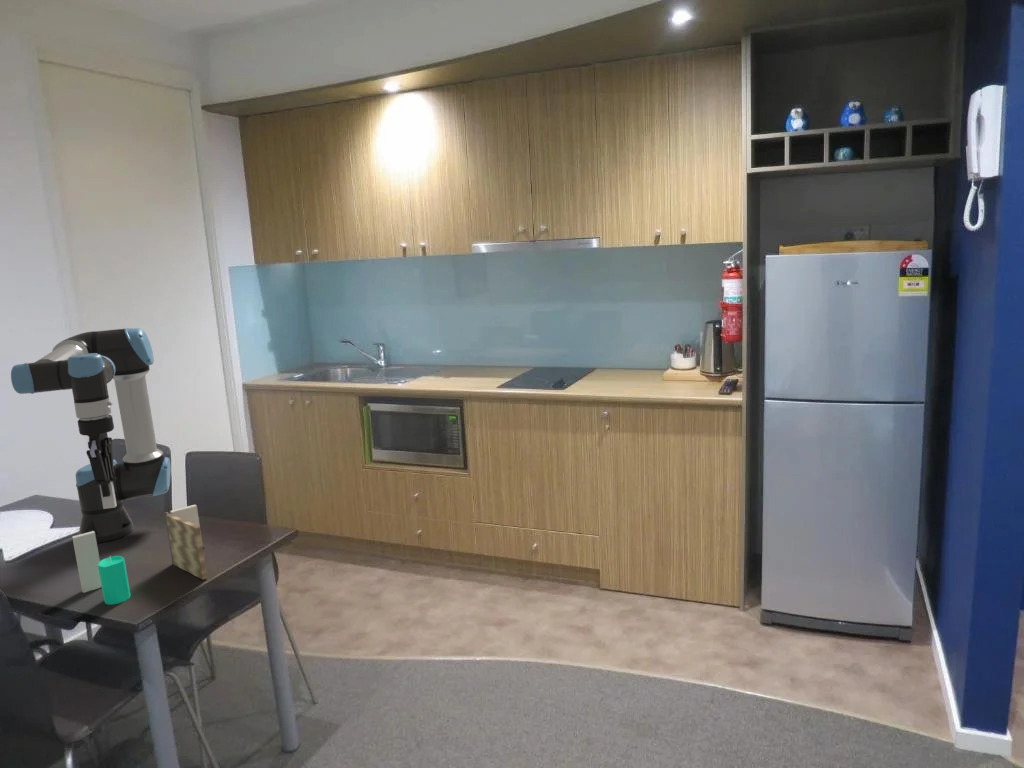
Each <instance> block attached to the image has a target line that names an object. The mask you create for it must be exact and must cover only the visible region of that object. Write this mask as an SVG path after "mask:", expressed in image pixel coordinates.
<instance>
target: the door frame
mask: <svg viewBox="0 0 1024 768" xmlns="http://www.w3.org/2000/svg"><path fill="white" fill-rule="evenodd" d="M169 511H170V512H167V511H166V512H164V513H163V514H164V519H165V524H166V526H165V527H166V531H167V538H168V545H169V546H168V547H169V551H170V557H171V563H172V564H171V565H173V566H175V565H174V564H173V557H172V551H171V545H170V538H169V532H168V525H167V519H166V515H168V514H172V515H174V516H176V517H179V518H181V519H184V520H186V521H188V522H191V523H193V524H195V525H198V526H200V517H199V511H198V506H197V504H192V505H187V506H183V507H180V508H176V509H173V510H169ZM200 527H201V526H200ZM200 532H201V533H202V531H201V530H200ZM71 537H72V542H73V543H72V544H73V547H74V548H73V549H74V553H75V558H76V559H75V560H76V566H77V570H78V576H79V582H80V587H81V592H82V593H87V592H88V593H89V592H91V591H94V590H97V589H100V588H101V589H102V586H101V580H100V574H99V569H98V564H99V562H100V561H101V560H100V559H101V558H100V554H99V549H98V543H97V542H96V536H95V532H94V531H91V532H88V533H84V534H80V535H79V534H77V535H73V536H71ZM201 539H202V537H201ZM202 545H203V546H204V544H203V543H202ZM204 551H205V550H203V552H204ZM204 553H205V552H204Z"/></svg>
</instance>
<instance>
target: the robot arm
mask: <svg viewBox="0 0 1024 768" xmlns="http://www.w3.org/2000/svg"><path fill="white" fill-rule="evenodd" d="M152 348H153V347H152V345H151V342H150V340H149V336H148V335H147V333H146V332H145V330H143V329H142V328H134V327H133V328H128V327H125V328H117V329H115V328H114V329H107V330H97V331H96V330H95V331H87V332H82V333H79V334H75V335H72V336H71V337H69V338H68V337H67V338H66V339H64V340H61V341H60V342H58V343H57V344H56V345H55V346H53V348H52V350H51V352H49V353H47V354H46V355H44V356H43V357H41V358H40V359H38V360H36V361H35V362H29V363H28V362H24V363H21V364H15V365H13V367H12V368H11V372H10V379H11V381H10V382H11V386H12V387H13V389H14V391H15V392H16V393H18V394H20V395H24V394H37V393H44V392H45V393H46V392H55V391H65V390H72V391H71V392H72V397H73V401H74V402H73V403H74V410H75V416H76V418H77V419H78V420H77V426H78V432H79V434H80V435H81V436H87V437H88V441H87V445H88V446H87V447H88V449H89V450H86V455H87V457H88V459H89V460H88V461H89V464H87V465H84V466H82V467H80V468H79V469H77V471H76V472H75V482H76V484H75V487H76V490H77V495H78V500H79V506H80V511H81V519H80V524H79V529H78V530H79V531H78V535H80V534H84V533H88V532H91V531H94V532H95V536H96V542H97V544H99V543H105V542H110V541H115V540H117V539H121V538H123V537H125V536H127V535H129V534H130V533H131V532H133V530H134V523H133V520H132V519H131V517H130V515H129V513H128V512H127V510H126V508H125V506H124V501H126V500H127V501H128V500H135V499H141V498H147V497H155V496H159V495H164V494H166V493H167V492H168V491H169V489H170V484H171V460H170V457H167V456H164V451H163V450H161V449H159V448H158V447H157V446H158V445H157V442H156V441H157V439H156V436H155V435H156V434H155V429H154V427H155V426H154V422H153V416H152V409H151V404H150V398H149V392H148V385H147V379H146V375H147V374H148V373H149V371H150V366H151V365H153V364H154V362H155V361H154V352H153V349H152ZM112 380H114V385H115V391H116V397H117V403H118V410H119V414H120V420H121V426H122V432H123V436H124V444H125V448H126V450H125V451H126V454H125V455H124V456H123V458H122V463H118V462H117V460H116V459H114V455H113V439H112V437H109V436H108V433H110V432H112V431H113V430H114V429H115V425H114V419H113V415H111V413H112V410H111V409H112V407H111V406H113V402H112V401H110V397H109V390H108V384H109V383H111V382H112Z"/></svg>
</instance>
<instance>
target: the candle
mask: <svg viewBox="0 0 1024 768" xmlns="http://www.w3.org/2000/svg"><path fill="white" fill-rule="evenodd" d="M98 569H99V574H100V580H101V586H102V587H101V590H102V596H103V602H104V603H105V604H106V605H117V604H121V603H124V602H126V601H128V600H129V599H130V598H131V596H132V594H131V588H130V583H129V577H128V573H127V572H128V571H127V565H126V560H125V558H124V557H123V556H120V555H114V556H111V555H109V557H106V558H103V559H101V560H100V562H99V564H98Z"/></svg>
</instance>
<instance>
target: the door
mask: <svg viewBox="0 0 1024 768" xmlns="http://www.w3.org/2000/svg"><path fill="white" fill-rule="evenodd" d="M166 519H167V525H168V532H169V538H170V545H171V551H172V557H173V564H174V565H173V566H175V567H178V568H179V569H181V570H183V571H186V572H187V573H189V574H190V575H193V576H195V577H197V578H199V579H200V580H205V579H208V574H207V568H206V560H205V559H206V558H205V552H203V551H205V545H204V544H203V540H202V539H201V538H202V531H201V526H198V525H195V524H193V523H191V522H188V521H186V520H184V519H181V518H179V517H176V516H174V515H172V514H171V513H169V514H168V515H166ZM200 531H201V532H200ZM202 544H203V545H202Z"/></svg>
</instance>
